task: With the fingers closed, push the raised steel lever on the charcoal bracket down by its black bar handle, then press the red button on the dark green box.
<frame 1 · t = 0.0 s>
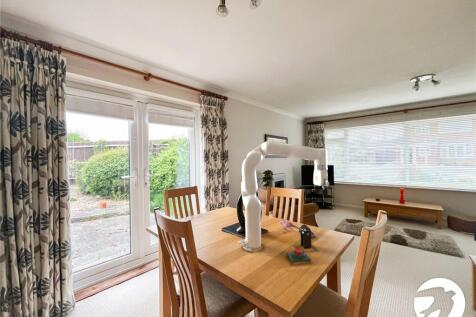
hand: (320, 194, 130), 31 cm above the table, tool pointing down, fingers open, 9 cm apart
bracket: (305, 248, 122), on the table
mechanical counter: (307, 236, 140), on the table
lever: (299, 228, 121), point 12 cm above the table, hinge at 30.0°
lily: (287, 231, 151), on the table
button: (298, 252, 109), point 4 cm above the table, slide at 0.1 cm
button box: (298, 260, 109), on the table
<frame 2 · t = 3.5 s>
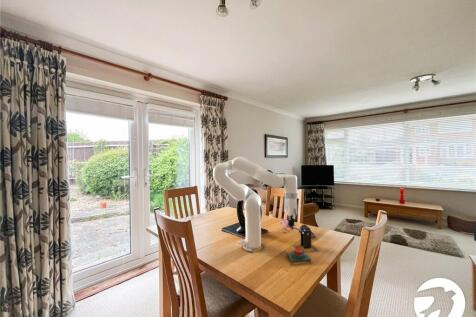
hand: (291, 225, 121), 14 cm above the table, tool pointing down, fingers closed
lever: (299, 229, 121), point 12 cm above the table, hinge at 22.7°, touching gripper
everything else where it was.
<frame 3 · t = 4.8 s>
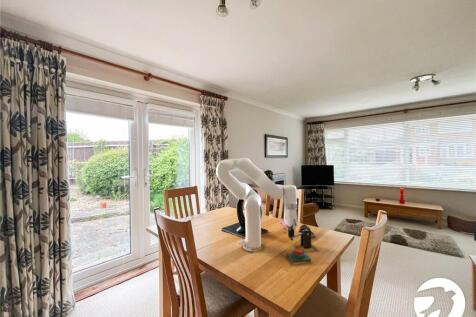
hand: (291, 236, 121), 8 cm above the table, tool pointing down, fingers closed
lever: (298, 234, 121), point 9 cm above the table, hinge at -16.4°, touching gripper
everything else where it was.
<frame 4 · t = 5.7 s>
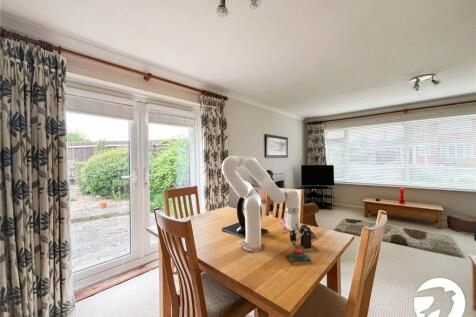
hand: (293, 240, 121), 6 cm above the table, tool pointing down, fingers closed
lever: (300, 237, 121), point 7 cm above the table, hinge at -36.3°, touching gripper
everything else where it was.
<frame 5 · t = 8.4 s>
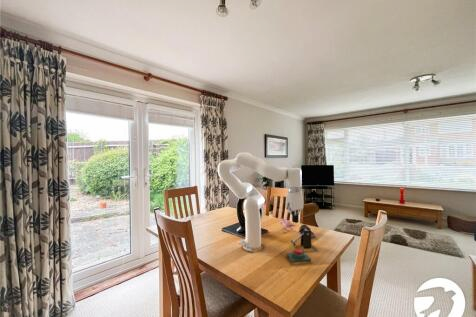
hand: (295, 221, 114), 19 cm above the table, tool pointing down, fingers closed
lever: (299, 237, 121), point 7 cm above the table, hinge at -35.9°
everything else where it was.
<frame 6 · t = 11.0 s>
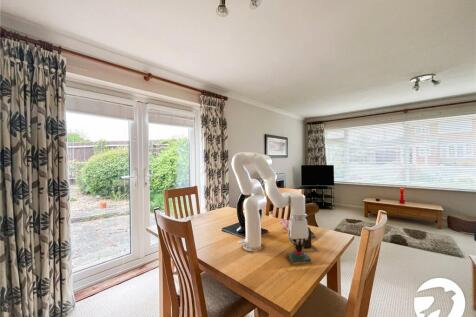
hand: (298, 250, 109), 5 cm above the table, tool pointing down, fingers closed
button: (298, 252, 109), point 4 cm above the table, slide at 0.0 cm, touching gripper
everything else where it was.
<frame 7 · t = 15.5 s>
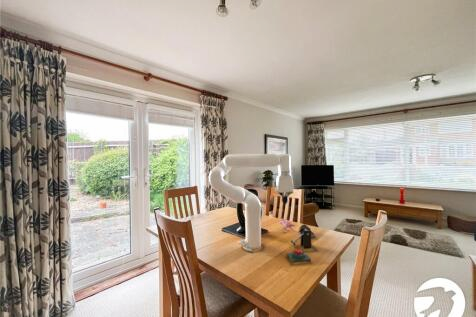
hand: (284, 203, 125), 27 cm above the table, tool pointing down, fingers closed
button: (298, 252, 109), point 4 cm above the table, slide at 0.1 cm
everything else where it was.
at the end: lever at -36° (first picture: +30°); button pushed in 1.1 cm at the most during the clip and back out by the end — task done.
